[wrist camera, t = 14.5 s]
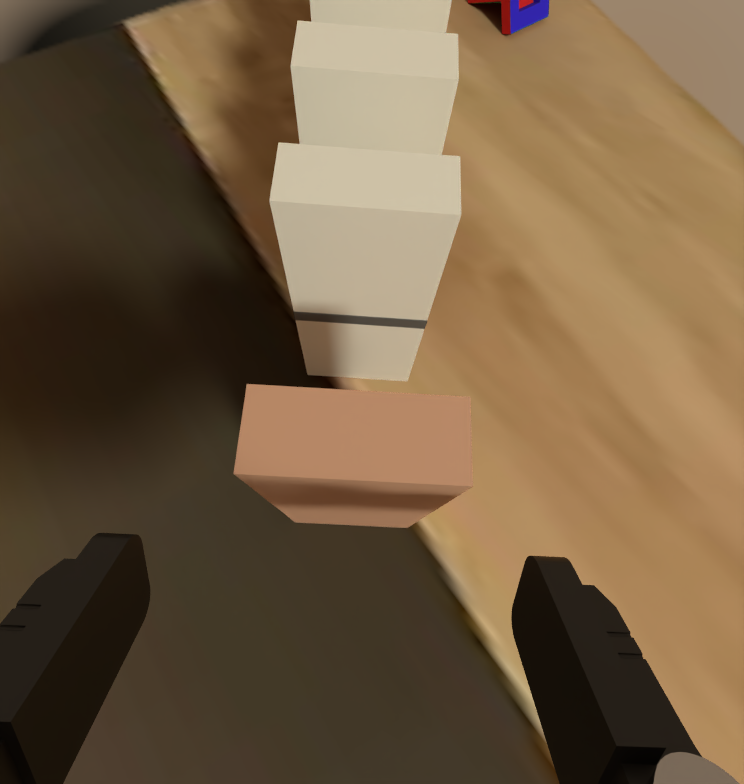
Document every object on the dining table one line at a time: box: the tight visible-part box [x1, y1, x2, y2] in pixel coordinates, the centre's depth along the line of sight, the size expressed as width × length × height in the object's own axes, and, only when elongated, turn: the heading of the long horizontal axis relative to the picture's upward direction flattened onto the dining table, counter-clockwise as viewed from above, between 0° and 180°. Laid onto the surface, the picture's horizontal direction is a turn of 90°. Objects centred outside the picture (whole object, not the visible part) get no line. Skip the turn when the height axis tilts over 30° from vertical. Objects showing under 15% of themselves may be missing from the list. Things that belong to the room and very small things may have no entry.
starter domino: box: [234, 384, 473, 528], centre depth 16 cm, size 5×2×12 cm, turn 87°
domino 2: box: [269, 142, 461, 381], centre depth 18 cm, size 5×2×12 cm, turn 87°
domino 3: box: [291, 21, 459, 155], centre depth 20 cm, size 5×2×12 cm, turn 87°
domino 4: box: [310, 0, 452, 33], centre depth 22 cm, size 5×2×12 cm, turn 87°
